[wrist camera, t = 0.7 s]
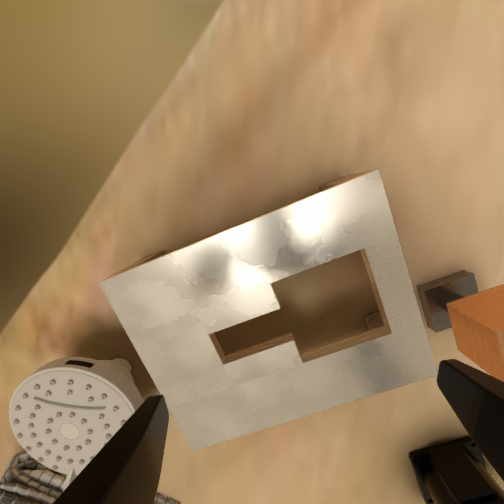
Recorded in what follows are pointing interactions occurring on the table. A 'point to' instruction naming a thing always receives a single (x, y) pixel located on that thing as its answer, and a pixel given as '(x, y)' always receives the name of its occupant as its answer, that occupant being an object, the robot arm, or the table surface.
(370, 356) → the keyhole stand
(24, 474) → the towel
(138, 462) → the robot arm
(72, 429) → the showerhead
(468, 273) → the peg
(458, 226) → the table surface
